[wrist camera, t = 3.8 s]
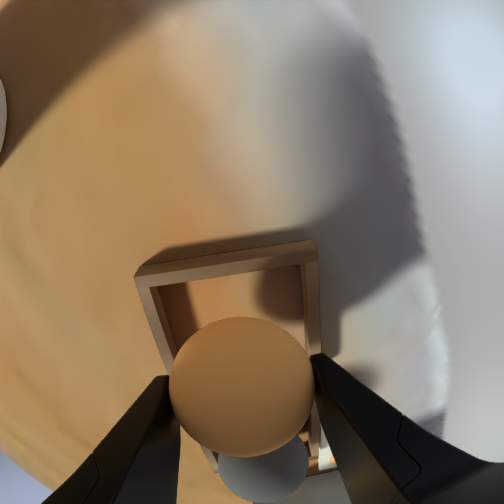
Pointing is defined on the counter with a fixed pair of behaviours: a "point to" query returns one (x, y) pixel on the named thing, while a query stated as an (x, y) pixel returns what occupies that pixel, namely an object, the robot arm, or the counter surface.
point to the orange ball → (242, 386)
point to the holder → (230, 265)
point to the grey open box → (318, 491)
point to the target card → (325, 453)
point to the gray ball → (266, 472)
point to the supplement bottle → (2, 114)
